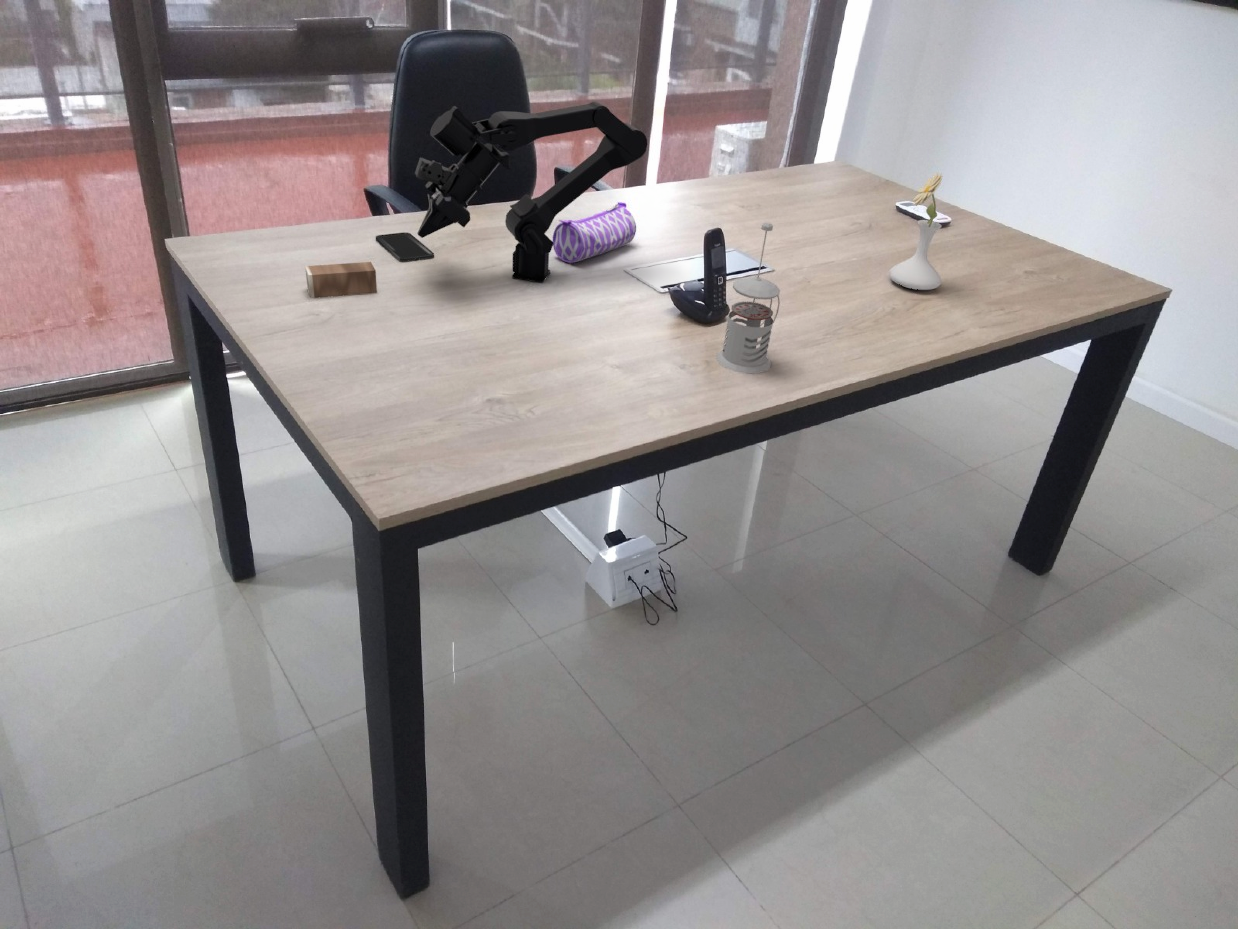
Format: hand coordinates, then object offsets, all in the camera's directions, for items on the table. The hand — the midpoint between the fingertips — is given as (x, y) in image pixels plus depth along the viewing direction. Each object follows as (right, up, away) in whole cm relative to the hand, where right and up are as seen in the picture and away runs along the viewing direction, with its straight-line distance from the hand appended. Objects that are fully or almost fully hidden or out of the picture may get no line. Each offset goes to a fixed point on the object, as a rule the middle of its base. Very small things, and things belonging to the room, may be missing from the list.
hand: (419, 235), depth 173 cm
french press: (+61, -25, -11) cm, 66 cm away
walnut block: (-9, -8, 0) cm, 12 cm away
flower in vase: (+102, -4, +28) cm, 106 cm away
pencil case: (+32, +3, +29) cm, 43 cm away
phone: (-8, +2, +21) cm, 22 cm away
